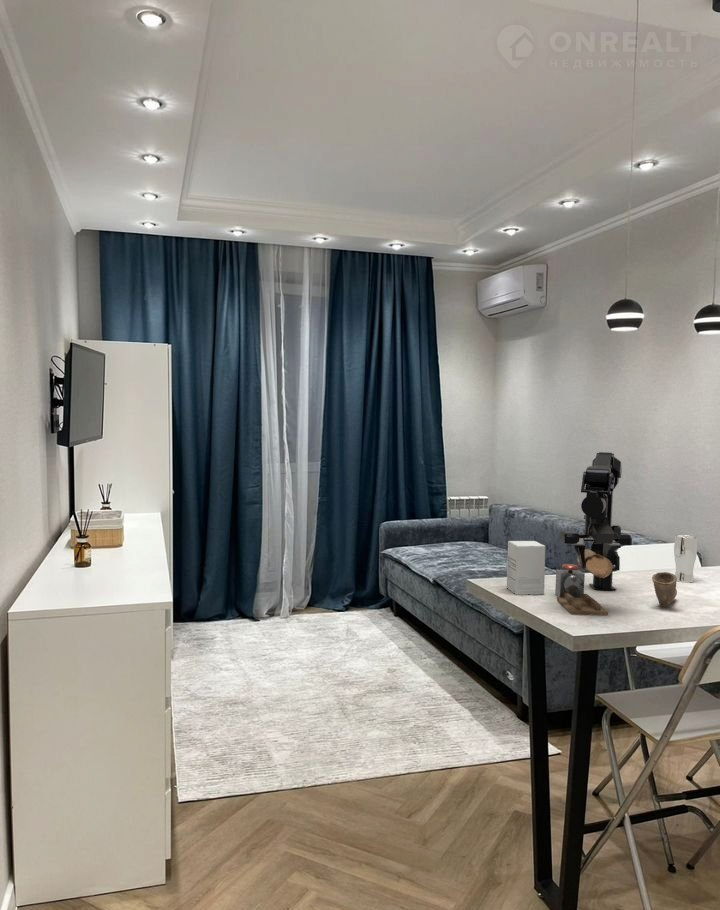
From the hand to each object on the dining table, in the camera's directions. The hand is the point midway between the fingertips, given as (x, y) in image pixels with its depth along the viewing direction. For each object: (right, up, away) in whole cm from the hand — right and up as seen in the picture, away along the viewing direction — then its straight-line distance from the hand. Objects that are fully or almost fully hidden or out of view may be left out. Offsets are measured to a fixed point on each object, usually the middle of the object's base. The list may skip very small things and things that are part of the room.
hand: (593, 568), depth 194 cm
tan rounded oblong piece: (0, -1, 0) cm, 1 cm away
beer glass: (+43, -11, +39) cm, 59 cm away
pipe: (+24, -12, +7) cm, 27 cm away
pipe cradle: (-3, -11, +1) cm, 12 cm away
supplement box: (-15, -10, +18) cm, 26 cm away
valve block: (-3, -11, +13) cm, 17 cm away
